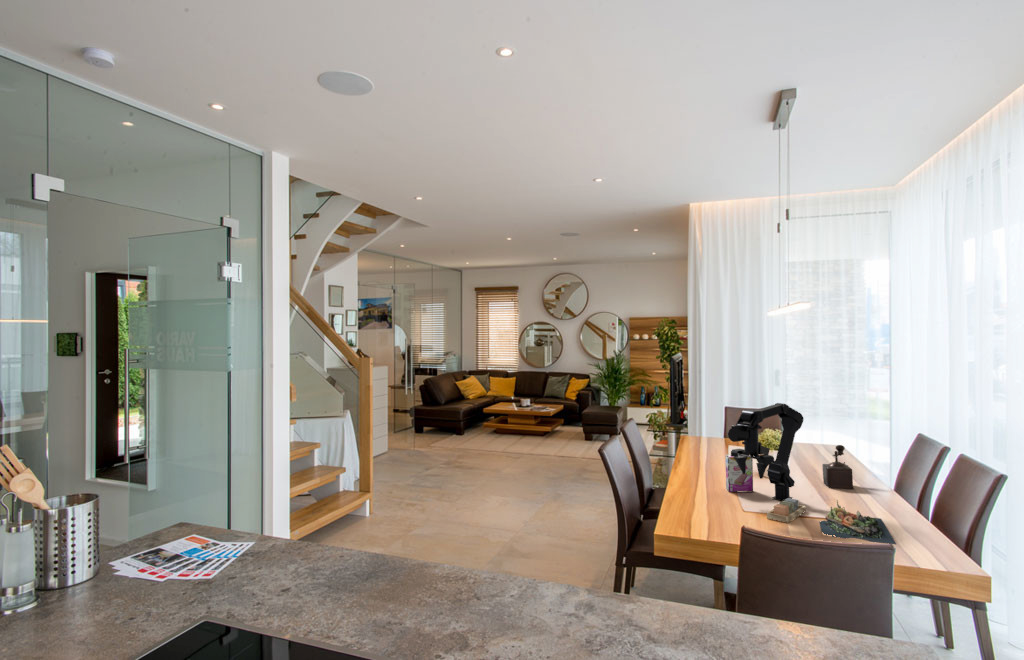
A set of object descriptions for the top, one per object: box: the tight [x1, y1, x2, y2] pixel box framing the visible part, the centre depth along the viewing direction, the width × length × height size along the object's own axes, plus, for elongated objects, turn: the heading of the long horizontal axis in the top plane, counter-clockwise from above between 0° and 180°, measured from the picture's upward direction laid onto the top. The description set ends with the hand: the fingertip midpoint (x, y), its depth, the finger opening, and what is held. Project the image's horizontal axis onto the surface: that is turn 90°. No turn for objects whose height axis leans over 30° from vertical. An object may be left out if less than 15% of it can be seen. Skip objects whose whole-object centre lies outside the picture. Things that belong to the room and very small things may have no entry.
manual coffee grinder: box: [821, 444, 854, 490], centre depth 259 cm, size 16×11×18 cm
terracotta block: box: [773, 503, 789, 516], centre depth 213 cm, size 4×4×4 cm
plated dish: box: [818, 499, 897, 545], centre depth 202 cm, size 35×28×7 cm
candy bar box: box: [724, 454, 754, 493], centre depth 252 cm, size 11×5×16 cm, turn 84°
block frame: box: [766, 498, 807, 524], centre depth 217 cm, size 19×8×5 cm, turn 133°
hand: (752, 476), depth 232 cm, fingers open, 9 cm apart
